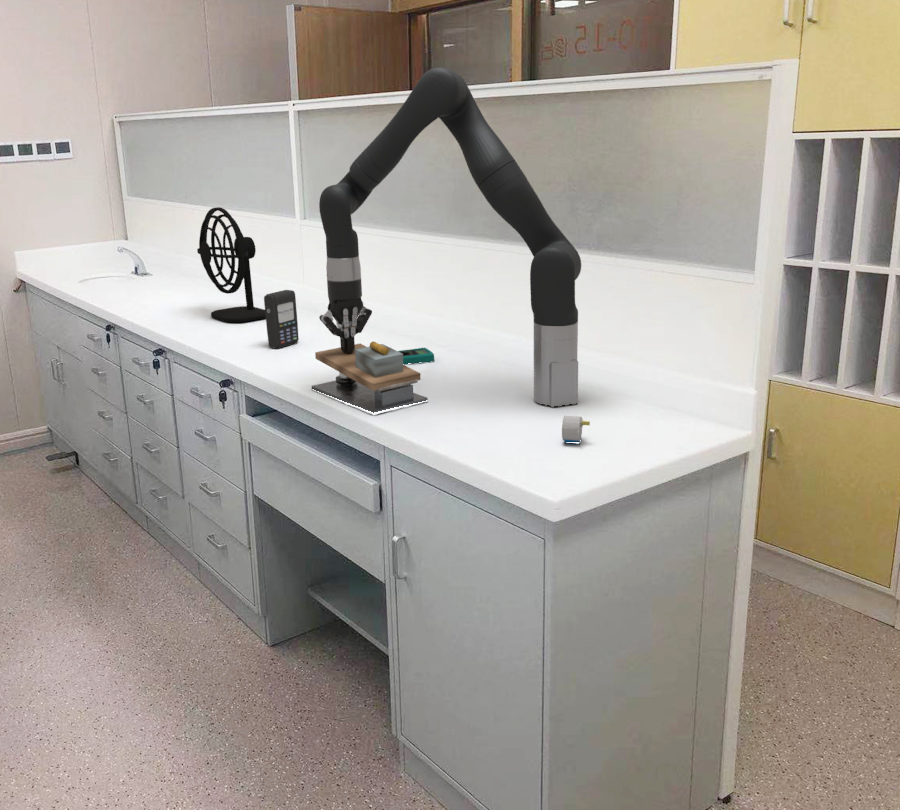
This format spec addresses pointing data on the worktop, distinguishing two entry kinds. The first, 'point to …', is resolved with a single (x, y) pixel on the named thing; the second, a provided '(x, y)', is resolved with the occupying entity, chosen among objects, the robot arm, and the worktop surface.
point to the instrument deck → (359, 374)
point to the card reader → (281, 318)
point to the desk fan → (243, 252)
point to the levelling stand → (368, 394)
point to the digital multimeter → (417, 355)
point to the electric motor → (572, 428)
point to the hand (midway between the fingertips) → (348, 352)
